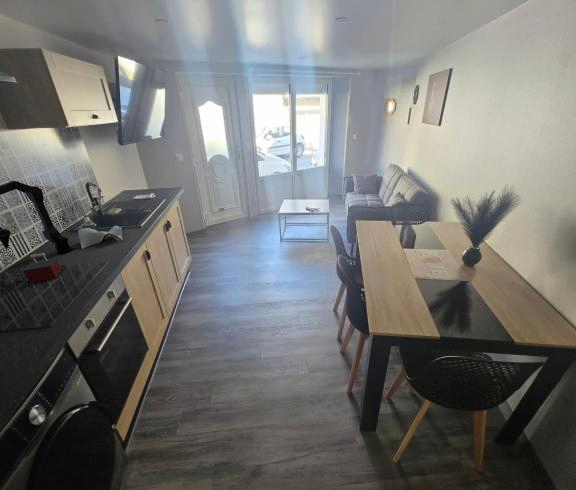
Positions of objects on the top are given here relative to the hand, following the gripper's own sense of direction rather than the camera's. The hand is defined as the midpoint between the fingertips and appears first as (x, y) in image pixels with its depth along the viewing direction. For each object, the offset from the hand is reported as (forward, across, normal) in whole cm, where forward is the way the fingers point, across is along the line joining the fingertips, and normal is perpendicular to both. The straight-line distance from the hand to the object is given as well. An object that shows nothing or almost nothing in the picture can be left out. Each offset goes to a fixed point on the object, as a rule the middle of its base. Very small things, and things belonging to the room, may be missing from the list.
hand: (2, 247), depth 160 cm
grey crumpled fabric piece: (+10, +10, +50) cm, 52 cm away
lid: (+8, +24, +3) cm, 26 cm away
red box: (+14, +24, +4) cm, 28 cm away
